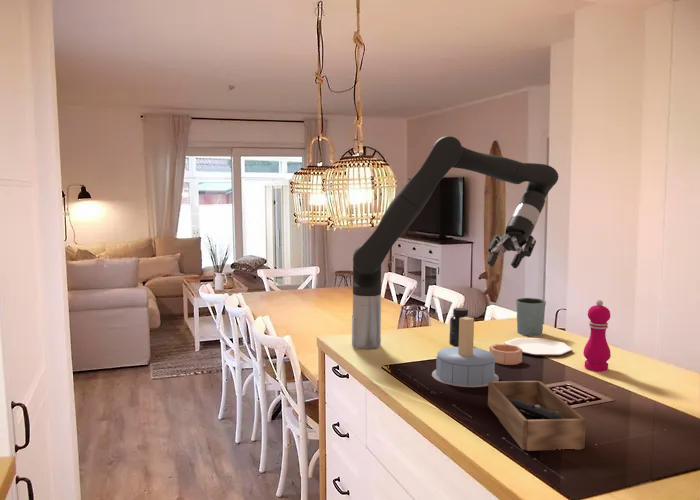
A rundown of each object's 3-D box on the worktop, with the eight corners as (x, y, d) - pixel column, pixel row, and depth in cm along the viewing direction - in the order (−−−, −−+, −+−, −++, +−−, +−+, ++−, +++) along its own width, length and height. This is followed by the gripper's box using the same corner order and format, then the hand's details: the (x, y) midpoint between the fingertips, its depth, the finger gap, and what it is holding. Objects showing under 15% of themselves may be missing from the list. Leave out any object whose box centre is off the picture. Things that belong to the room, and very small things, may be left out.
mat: (439, 389, 149) (439, 387, 149) (426, 367, 167) (426, 366, 167) (508, 387, 150) (508, 386, 150) (487, 366, 168) (487, 365, 168)
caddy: (523, 450, 114) (524, 421, 113) (487, 406, 137) (488, 381, 137) (585, 449, 115) (586, 420, 114) (539, 405, 138) (540, 380, 138)
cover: (468, 389, 148) (470, 327, 146) (425, 374, 160) (426, 317, 158) (505, 377, 157) (507, 319, 156) (461, 364, 169) (463, 310, 167)
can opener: (571, 440, 119) (572, 414, 119) (543, 445, 117) (545, 418, 116) (516, 409, 136) (517, 386, 135) (491, 414, 133) (492, 390, 133)
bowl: (495, 365, 169) (496, 352, 168) (486, 357, 177) (486, 344, 177) (525, 365, 169) (525, 352, 169) (514, 356, 178) (515, 344, 178)
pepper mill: (608, 366, 169) (612, 298, 167) (611, 373, 162) (614, 303, 160) (582, 363, 172) (585, 297, 169) (583, 370, 165) (586, 301, 163)
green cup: (542, 330, 211) (543, 298, 210) (546, 337, 202) (548, 303, 200) (513, 329, 213) (514, 297, 212) (516, 336, 203) (517, 302, 202)
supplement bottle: (472, 347, 188) (473, 311, 187) (451, 347, 188) (451, 311, 187) (468, 342, 195) (469, 307, 194) (447, 341, 195) (448, 306, 194)
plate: (524, 339, 201) (525, 334, 201) (580, 350, 187) (580, 345, 187) (494, 349, 187) (494, 345, 187) (552, 362, 173) (552, 357, 173)
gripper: (497, 214, 180) (476, 257, 174) (537, 214, 168) (515, 259, 163) (509, 229, 183) (488, 271, 178) (549, 229, 172) (528, 274, 167)
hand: (501, 265), depth 170 cm, fingers open, 8 cm apart
